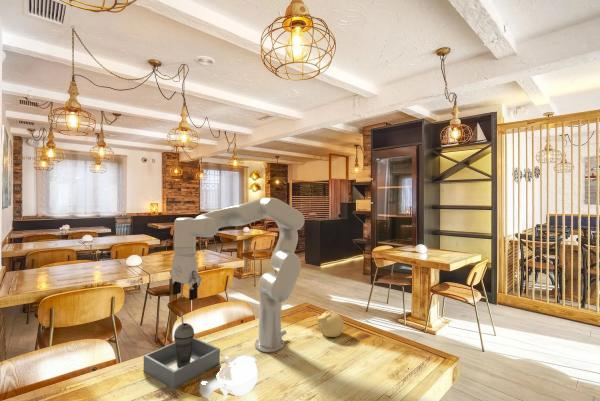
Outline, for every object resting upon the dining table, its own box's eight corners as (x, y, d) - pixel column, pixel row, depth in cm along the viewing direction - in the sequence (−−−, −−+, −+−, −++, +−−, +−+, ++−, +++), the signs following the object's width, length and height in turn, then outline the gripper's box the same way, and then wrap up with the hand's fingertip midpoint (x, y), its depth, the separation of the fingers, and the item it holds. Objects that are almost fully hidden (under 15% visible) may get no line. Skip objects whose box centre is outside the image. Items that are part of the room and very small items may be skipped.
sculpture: (325, 326, 160) (326, 305, 159) (347, 333, 152) (348, 311, 152) (313, 334, 150) (313, 312, 150) (335, 342, 143) (336, 318, 143)
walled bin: (189, 349, 133) (190, 335, 133) (219, 363, 123) (219, 348, 123) (143, 371, 116) (143, 355, 116) (173, 390, 106) (174, 372, 106)
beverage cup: (187, 371, 115) (188, 317, 114) (168, 368, 117) (170, 314, 116) (197, 361, 122) (198, 309, 122) (180, 358, 124) (181, 307, 123)
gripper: (162, 249, 120) (162, 294, 120) (191, 255, 110) (191, 304, 111) (179, 246, 126) (179, 289, 127) (208, 252, 116) (208, 298, 117)
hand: (184, 296), depth 119 cm, fingers open, 9 cm apart
